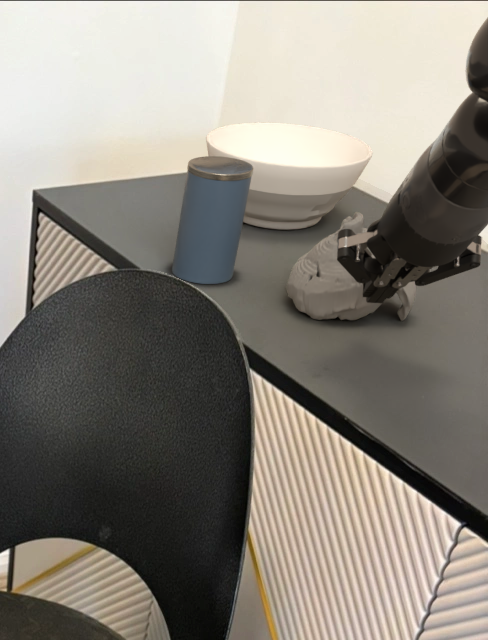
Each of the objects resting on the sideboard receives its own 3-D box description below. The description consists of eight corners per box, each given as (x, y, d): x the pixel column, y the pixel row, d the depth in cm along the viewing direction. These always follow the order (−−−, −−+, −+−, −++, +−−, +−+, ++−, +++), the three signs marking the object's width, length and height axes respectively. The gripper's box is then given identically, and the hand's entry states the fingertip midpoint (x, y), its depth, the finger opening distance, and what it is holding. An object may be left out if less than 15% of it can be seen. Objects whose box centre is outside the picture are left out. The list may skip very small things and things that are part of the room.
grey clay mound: (331, 360, 111) (332, 259, 104) (267, 316, 120) (263, 220, 112) (436, 313, 112) (443, 210, 105) (365, 273, 121) (367, 174, 113)
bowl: (337, 253, 128) (356, 176, 122) (174, 225, 134) (186, 151, 128) (366, 207, 141) (385, 136, 135) (217, 183, 147) (229, 114, 142)
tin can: (209, 259, 125) (227, 153, 118) (245, 279, 121) (267, 170, 114) (159, 267, 123) (175, 159, 116) (194, 287, 119) (213, 177, 111)
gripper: (535, 155, 88) (445, 259, 106) (368, 147, 89) (305, 251, 106) (532, 246, 88) (442, 335, 105) (363, 237, 89) (301, 328, 106)
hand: (373, 293), depth 106 cm, fingers closed
